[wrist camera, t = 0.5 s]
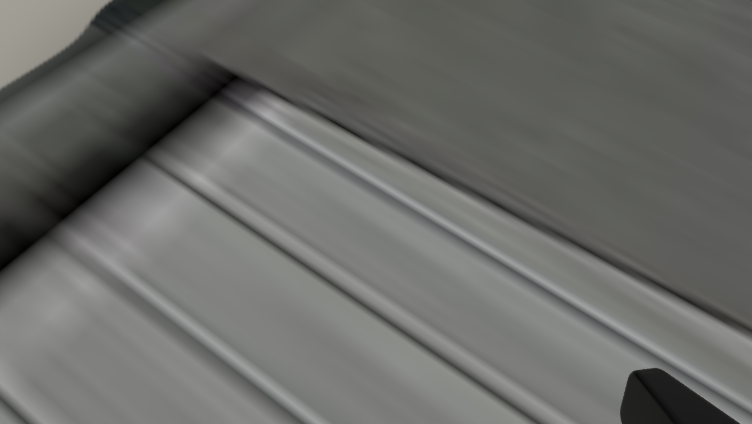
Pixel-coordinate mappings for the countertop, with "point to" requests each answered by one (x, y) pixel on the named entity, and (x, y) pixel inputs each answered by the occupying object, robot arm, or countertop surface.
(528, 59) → the countertop surface
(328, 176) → the countertop surface
